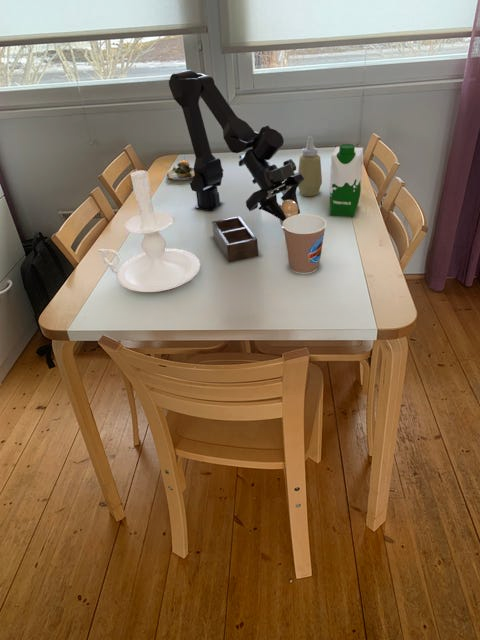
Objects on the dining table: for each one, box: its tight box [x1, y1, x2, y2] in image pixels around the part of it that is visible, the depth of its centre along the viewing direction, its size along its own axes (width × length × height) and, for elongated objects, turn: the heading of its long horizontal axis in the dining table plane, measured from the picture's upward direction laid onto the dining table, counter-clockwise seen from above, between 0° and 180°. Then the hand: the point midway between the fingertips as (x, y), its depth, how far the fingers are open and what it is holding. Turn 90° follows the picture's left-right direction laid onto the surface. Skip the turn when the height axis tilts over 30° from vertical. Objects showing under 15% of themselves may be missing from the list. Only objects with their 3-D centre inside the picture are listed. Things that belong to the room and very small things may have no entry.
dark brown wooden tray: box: [211, 215, 259, 263], centre depth 128 cm, size 8×16×5 cm, turn 17°
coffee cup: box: [282, 213, 328, 275], centre depth 114 cm, size 10×10×12 cm
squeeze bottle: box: [297, 136, 323, 197], centre depth 150 cm, size 8×8×18 cm
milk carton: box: [329, 143, 364, 218], centre depth 137 cm, size 9×9×20 cm
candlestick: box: [97, 169, 201, 293], centre depth 110 cm, size 21×25×28 cm
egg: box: [278, 199, 299, 233], centre depth 129 cm, size 5×5×9 cm
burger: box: [166, 156, 195, 181], centre depth 174 cm, size 12×12×8 cm
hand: (292, 217), depth 128 cm, fingers closed on egg, 5 cm apart
